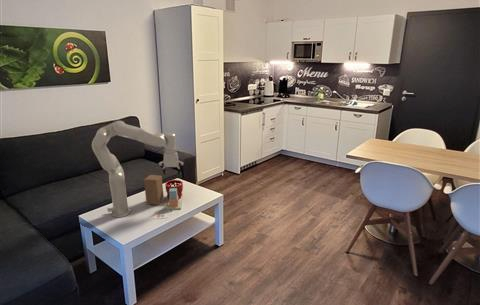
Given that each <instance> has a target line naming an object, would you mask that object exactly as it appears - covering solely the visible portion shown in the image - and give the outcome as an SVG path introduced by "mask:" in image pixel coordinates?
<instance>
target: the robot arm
mask: <svg viewBox="0 0 480 305" xmlns="http://www.w3.org/2000/svg"><path fill="white" fill-rule="evenodd" d="M115 136H119V137H123V138H127V139H131V140H135V141H136V142H137V141H138V142H140V143H143V144H145V145H149V146H152V147H156V148H162V147H164V149H162V151H163V152H164V154H163V160H161V161H160V162H158V165H159V167H160V168H161V169H162V173H163V175H166V168H177V175H180V173H181V168H182V167H183V166H184V164H185V163H184V162H183V161H181V160H179V155H178V151H177V138H176V137H177V135H176V134H175V133H174V132H173V133H172V132H168V133H164V132H163V133H162V132H158V133H155V134H152V133H150V132H148V131H146V130H144V129H143V128H141V127H138V126H134V125H132V124H131V125H130V124H127V123H125V121H123V120H116V121H113V122H112V123H109V124H107V125H105V126H102V127H100V128H99V129H98V130H97V131H96V134H95V136H94V138H93V139H92V142H91V148H92V151H93V153H94V155H95V157H96V158H97V160H98V162H99V164H100V166H101V167H102V169H103V170H104V171H107V173H108V182H109V183H108V184H109V188H110V194H111V201H112V207H107V208H106V209H107V212H108V213H110V212H111V216H112V217H115V218H124V217H126V216H128V215H130V214H131V212H132V210H131V209H130V208H129V206H128V203H129V202H128V197H127V195H128V194H127V189H126V181H125V171H124V168H123V167H122V165H121V164H120V161H119V160H118V158H117V157H116V156H115V155H114V154H113V153H111V152H110V150H109V148H108V147H107V144H108V142H109V141H110V140H111V138H113V137H115Z"/></svg>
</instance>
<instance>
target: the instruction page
mask: <svg viewBox="0 0 480 305" xmlns="http://www.w3.org/2000/svg"><path fill="white" fill-rule="evenodd" d="M167 216H168V213H156V214H155V215H154V218H153V219H154V220H157V219H167Z"/></svg>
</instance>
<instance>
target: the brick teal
mask: <svg viewBox="0 0 480 305" xmlns="http://www.w3.org/2000/svg"><path fill="white" fill-rule="evenodd" d="M169 196H170V199H177V188H171V189H170V190H169Z"/></svg>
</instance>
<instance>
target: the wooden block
mask: <svg viewBox="0 0 480 305" xmlns="http://www.w3.org/2000/svg"><path fill="white" fill-rule="evenodd" d="M143 183H144V185H143V186H144V194H145V201H146V204H147V205H151V206H152V205H155V206H158V205H160V204H161V203H162V202H163V201H164V199H165V196H164V187H163V186H164V185H163V177H162V175H157V174H155V175H154V174H149V175H148V176H147V177H146V178H144V180H143Z"/></svg>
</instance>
